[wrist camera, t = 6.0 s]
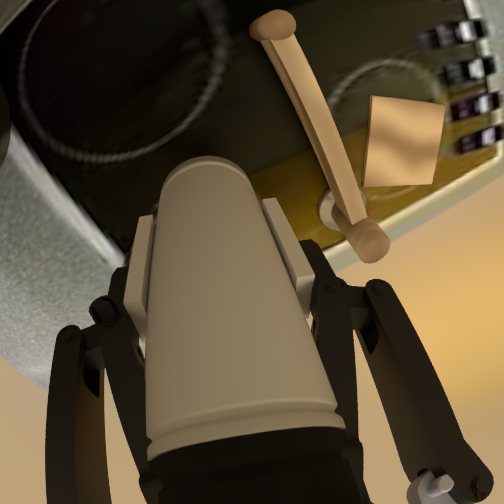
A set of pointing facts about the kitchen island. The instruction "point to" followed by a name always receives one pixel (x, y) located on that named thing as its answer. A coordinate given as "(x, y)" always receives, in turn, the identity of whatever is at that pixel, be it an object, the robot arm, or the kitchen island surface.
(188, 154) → the kitchen island surface
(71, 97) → the kitchen island surface
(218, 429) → the travel mug
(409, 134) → the coaster
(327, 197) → the hinge base
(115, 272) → the robot arm
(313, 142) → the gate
